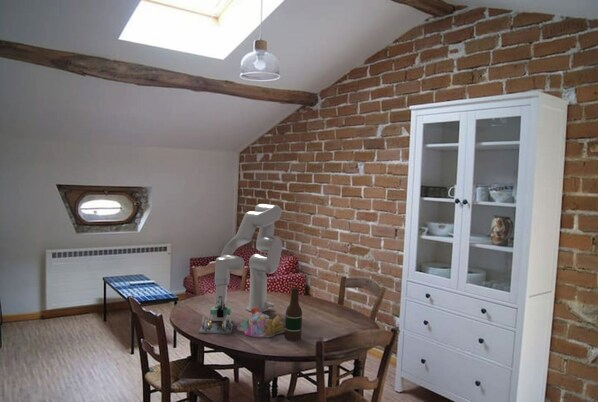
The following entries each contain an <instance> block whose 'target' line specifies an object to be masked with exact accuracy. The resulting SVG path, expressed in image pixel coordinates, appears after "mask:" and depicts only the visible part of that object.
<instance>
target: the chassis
mask: <svg viewBox="0 0 598 402" xmlns="http://www.w3.org/2000/svg"><path fill="white" fill-rule="evenodd" d="M205 317H206V316H202V318H201V319H202V320H201V321H202V323H201V327H200V328H199V330H198V334H215V335H216V334H219V335H231V334H232V331H233V328H234V323H232V317H230V316H229V320H228V314H227V315H226V320H224V321H222V323H217V322H216V323H215V322H213V320H211V314H210V313H207V319H205Z"/></svg>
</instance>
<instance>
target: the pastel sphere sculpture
mask: <svg viewBox="0 0 598 402" xmlns="http://www.w3.org/2000/svg"><path fill="white" fill-rule="evenodd" d="M250 312H251V316H250V317H249V319H248V318H244V319H243V320H242V321H241V322H240V323H239V322H238V324H237V327H236V330H237V331H239V332H243V334H245V336H248V337H253V338H257V339H258V338H272V337H274V336H275V335H279V334H283V333H284V334H285V324H284V323H283V322H282V320H283V318H282V317H281V316H280V315H276V316H275V317H274V318H273V319H272V318H271V319H270V316H269V315H268V314H264V313H263V312H259V309H258V308H257V307H253V308H252V309H251V311H250Z"/></svg>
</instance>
